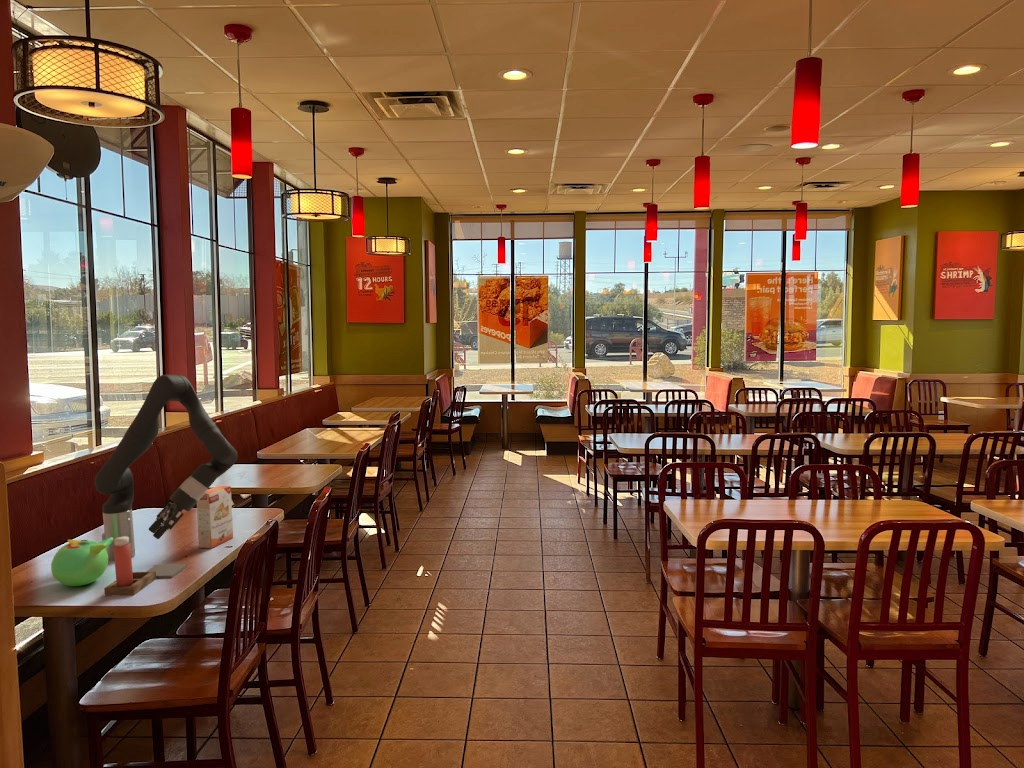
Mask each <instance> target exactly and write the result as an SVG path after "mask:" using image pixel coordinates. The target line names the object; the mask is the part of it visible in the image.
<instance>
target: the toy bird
mask: <svg viewBox="0 0 1024 768" xmlns="http://www.w3.org/2000/svg"><path fill="white" fill-rule="evenodd" d="M112 541H113V538H112V537H111V538H108V539H106V540H104V541H102V540H101V541H100V542H97V541H94V540H88V539H80V540H76V539H67V544H65V545H64V546H62V547H61V548H59V549H58V551H56V553H55V554H54V556H53V558H52V561H51V565H50V567H51V568H50V569H51V574H52V577H53V578H54V580H55V581H57V582H58V583H60V584H62V585H65V586H69V587H80V586H85V585H89V584H92V583H93V582H95V581H97V580H99V578H101V577H102V575H103V574H104V573H105V571H106V570H107V567H108V563H109V561H108V554H107V551H106V550H107V548H108V547H109V545H110V544H111V543H112Z"/></svg>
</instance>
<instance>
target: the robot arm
mask: <svg viewBox="0 0 1024 768" xmlns="http://www.w3.org/2000/svg"><path fill="white" fill-rule="evenodd" d="M168 402H179V403H180V404H181V405H182V406H183V407H184V409H186V411H187V414H188V423H189V426H190V429H191V430H192V432H193V433H194V435H195V436H196V437H197V439H198V440H199V441H200V442H201V443H202V445H203V446H204V447H205V449H206V451H207V452H208V454H209V455H210V457H211V458H212V459H210V461H208V462H207V463H202V464H200V465H199V466H197V468H195V470H194V471H193V472H192V473H191V475H190V476H189V477H188V478H186V479H185V480H184V481H183V482H182V483H181V485H179V487H177V489H176V490H175V491H174V492H173V493H172V494H171V496H170V497H169V499H170V500H171V501H172V502H171V501H169V502H168V503H167V504H166V505H165V506H164V507H163V508H162V510H161V511H160V512H158V514H156V519H155V520H154V522H153V523H152V524H151V525H150V526H149V527H148V531H149V532H151V533H152V536H153V537H154V538H155V539H157V540H159V539H160V538H161V537H162V536H163V535H164V534H165V533H166V532H167V530H168V531H169V530H173V528H174V527H175V525H177V524H178V522H179V521H180V519H182V517H183V516H184V513H183V510H185V511H186V512H190V511H192V509H193V508H194V507H195V506H196V505H197V502H198V501H199V500H200V498H201V497H202V496H203V495H204V494H205V492H206V491H207V490H208V489H210V488H211V486H212V485H213V484H214V483H215V481H216V480H217V479H218V478H219V477H221V476H222V475H223V474H224V473H226V472H227V471H229V470H230V469H231V468H232V467H233V466H234V465H235V463H236V461H237V460H238V457H239V456H238V454H239V453H238V451H237V450H236V449H235V447H234V446H233V445H232V444H231V443H230V442H229V441H228V440H227V439H226V437H225V436H224V435H223V434H222V432H221V430H220V429H219V427H218V426H217V425H216V423H215V422H214V420H213V419H212V418H211V417H210V415H209V414H208V412H207V411H206V409H205V407H204V406H203V404H202V402H201V400H200V398H199V396H198V394H197V392H196V391H195V389H194V387H193V385H192V383H191V381H189V379H188V378H187V377H186V376H184V375H181V374H180V375H179V374H161V375H159V376H158V377H157V378H156V379H155V380H154V381H153V383H152V385H151V387H150V388H149V392H148V394H147V395H146V398H145V399H144V402H143V404H142V406H141V407H140V409H139V411H138V412H137V414H136V415H135V417H134V419H133V420H132V422H131V423H130V425H129V426H128V428H127V430H126V431H125V433H124V435H123V437H122V439H121V440H120V441H119V443H118V444H117V446H116V448H115V450H114V451H113V453H112V454H111V456H110V457H109V458H108V459H107V461H105V463H104V464H103V466H101V468H100V469H99V471H98V472H97V473H96V476H95V478H94V487H95V489H96V491H97V492H98V493H100V494H102V495H110V496H109V498H108V499H107V500H106V501H105V502H104V503H103V504H102V520H103V532H102V534H101V542H102V541H104V540H106V539H108V538H111V537H112V538H113V541H112V543H111V544H110V545H109V547H108V548H107V550H106V551H107V554H108V562H115V558H114V545H115V543H114V539H115V538H118V537H124V536H127V537H129V543H130V545H131V558H133V557H135V556H136V548H135V547H136V546H135V531H134V518H133V508H132V507H133V506H132V505H133V502H134V500H135V499H134V497H135V495H134V476H133V472H132V471H131V468H130V466H131V465H132V464H133V463H134V462H136V461H137V460H139V458H140V457H141V456H142V455H143V454H145V453H146V452H147V451H148V450H149V448H150V447H151V446H152V444H153V443H154V441H155V440H156V438H157V436H158V435H159V432H160V421H159V416H160V413H161V412H162V410H163V408H164V407H165V406H166V404H168Z"/></svg>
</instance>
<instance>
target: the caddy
mask: <svg viewBox="0 0 1024 768" xmlns="http://www.w3.org/2000/svg"><path fill="white" fill-rule="evenodd" d="M132 572H133V584H132V585H131V586H130V587H117V584H116V580H114V581H112V582H110V584H108V585H107V586H105V587H104V588H103V589H104V597H113V596H112V595H119V596H135V595H136V594H138V593H139V592H141V591H142V590H143V589H145V588H146V587H147V586H149V585H150V584H151V583H152V582H155V580H157V578H156V571H154V572H146V571H132ZM148 584H149V585H148Z"/></svg>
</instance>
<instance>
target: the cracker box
mask: <svg viewBox="0 0 1024 768" xmlns="http://www.w3.org/2000/svg"><path fill="white" fill-rule="evenodd" d="M232 509H233V507H232V487H231V486H230V485H217V486H215V487H210V488H207V491H206V492H205V494H204V495H203V496H202V497H201V498H200V500H199V501H198V502H197V503H196V514H197V515H196V516H197V533H198V536H197V537H198V548H199V549H214V548H215V547H217V546H219V545H221V544H223V543H225V542H228V541H230V540H231V538H232V539H234V531H233V530H234V529H233V527H234V526H233V511H232ZM229 539H230V540H229Z"/></svg>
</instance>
